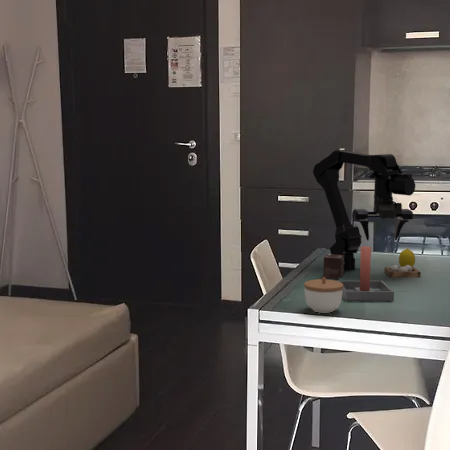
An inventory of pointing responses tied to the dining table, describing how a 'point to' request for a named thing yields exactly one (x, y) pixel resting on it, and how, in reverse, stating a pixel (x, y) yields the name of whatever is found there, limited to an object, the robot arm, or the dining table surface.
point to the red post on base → (365, 269)
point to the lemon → (406, 258)
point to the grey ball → (403, 269)
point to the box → (333, 266)
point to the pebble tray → (402, 273)
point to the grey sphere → (394, 268)
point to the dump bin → (367, 292)
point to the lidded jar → (323, 294)
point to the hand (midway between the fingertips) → (381, 240)
